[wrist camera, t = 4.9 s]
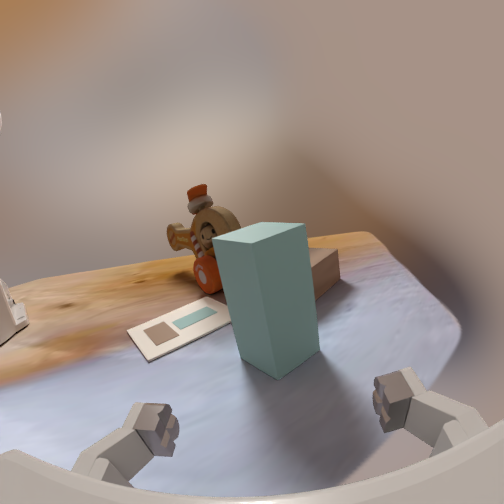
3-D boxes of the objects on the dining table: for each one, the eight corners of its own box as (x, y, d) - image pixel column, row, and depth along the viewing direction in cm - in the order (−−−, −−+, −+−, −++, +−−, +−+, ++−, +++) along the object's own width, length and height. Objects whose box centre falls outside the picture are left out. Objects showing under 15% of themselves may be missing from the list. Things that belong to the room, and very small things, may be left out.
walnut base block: (248, 299, 34) (241, 268, 33) (287, 274, 39) (283, 246, 38) (305, 311, 28) (300, 274, 27) (340, 280, 34) (337, 249, 33)
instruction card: (127, 332, 30) (126, 330, 30) (207, 297, 36) (206, 295, 36) (148, 361, 23) (147, 359, 23) (244, 315, 29) (244, 312, 29)
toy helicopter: (221, 300, 34) (194, 185, 31) (159, 273, 50) (140, 199, 47) (270, 276, 39) (251, 174, 35) (196, 259, 55) (180, 189, 51)
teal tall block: (240, 357, 22) (211, 238, 20) (281, 333, 25) (261, 222, 22) (278, 380, 19) (251, 243, 16) (319, 349, 21) (305, 223, 19)
